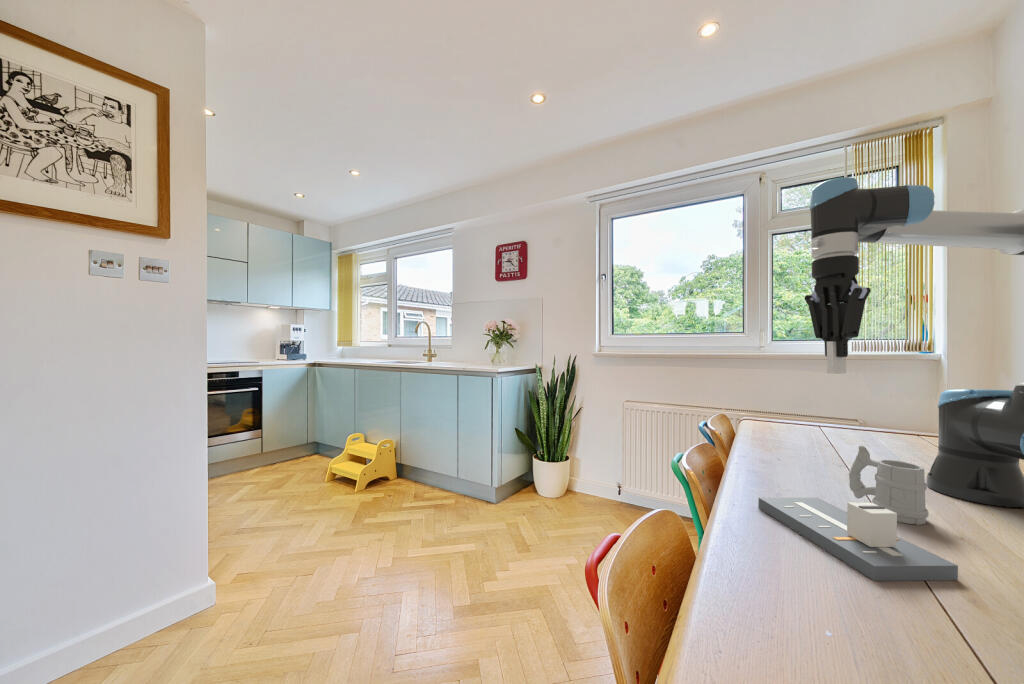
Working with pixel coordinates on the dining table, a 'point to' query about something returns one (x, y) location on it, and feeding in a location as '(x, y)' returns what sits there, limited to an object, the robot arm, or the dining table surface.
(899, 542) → the console
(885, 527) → the fader tab
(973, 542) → the dining table surface
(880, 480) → the mug
